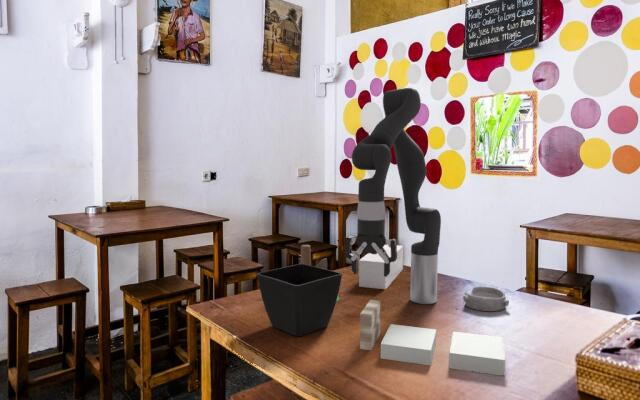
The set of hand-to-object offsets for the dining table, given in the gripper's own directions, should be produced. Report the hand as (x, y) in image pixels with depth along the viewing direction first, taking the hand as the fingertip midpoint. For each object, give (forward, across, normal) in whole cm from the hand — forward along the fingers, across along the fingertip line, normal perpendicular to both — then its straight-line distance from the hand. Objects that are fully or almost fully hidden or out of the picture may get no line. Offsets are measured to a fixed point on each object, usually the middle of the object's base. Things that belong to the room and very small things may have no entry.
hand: (370, 274), depth 131 cm
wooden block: (+19, +30, -35) cm, 50 cm away
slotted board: (+19, -20, +3) cm, 28 cm away
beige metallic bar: (+19, 0, 0) cm, 19 cm away
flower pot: (+20, +23, -4) cm, 30 cm away
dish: (+19, -31, -41) cm, 55 cm away
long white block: (+19, +10, -65) cm, 69 cm away
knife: (+20, +20, -25) cm, 38 cm away
